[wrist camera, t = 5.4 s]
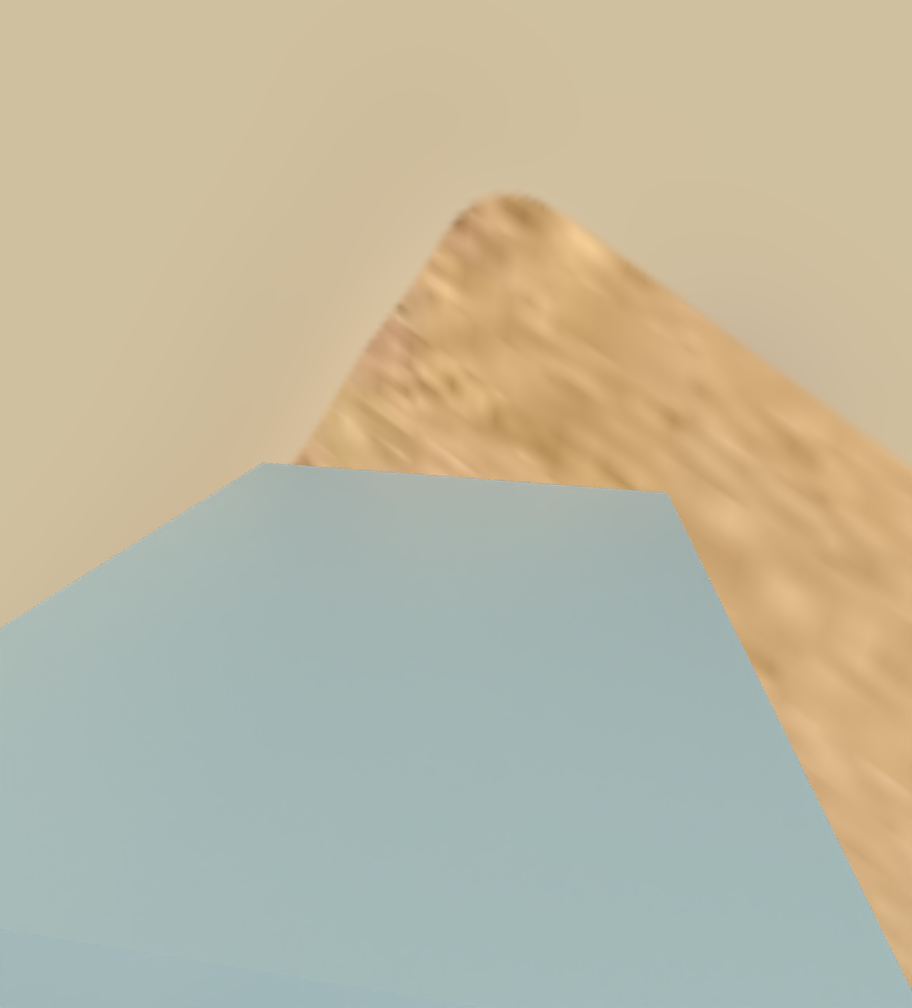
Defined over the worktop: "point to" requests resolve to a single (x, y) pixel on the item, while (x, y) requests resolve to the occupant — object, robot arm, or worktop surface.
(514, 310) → the worktop surface
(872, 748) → the worktop surface
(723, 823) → the light blue block
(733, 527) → the worktop surface
